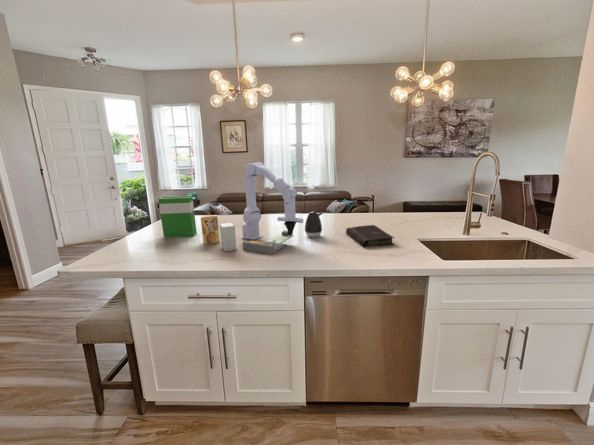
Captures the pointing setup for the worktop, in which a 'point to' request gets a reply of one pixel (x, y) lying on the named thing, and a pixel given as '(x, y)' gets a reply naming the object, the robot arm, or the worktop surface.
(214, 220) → the candy box
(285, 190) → the robot arm
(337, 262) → the worktop surface
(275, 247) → the large grey box
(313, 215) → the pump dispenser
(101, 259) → the worktop surface
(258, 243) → the cylinder
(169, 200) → the green cereal box
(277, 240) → the cover
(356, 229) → the diary
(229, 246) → the small box
